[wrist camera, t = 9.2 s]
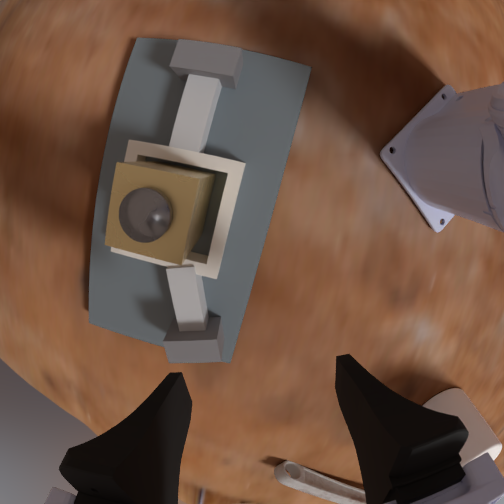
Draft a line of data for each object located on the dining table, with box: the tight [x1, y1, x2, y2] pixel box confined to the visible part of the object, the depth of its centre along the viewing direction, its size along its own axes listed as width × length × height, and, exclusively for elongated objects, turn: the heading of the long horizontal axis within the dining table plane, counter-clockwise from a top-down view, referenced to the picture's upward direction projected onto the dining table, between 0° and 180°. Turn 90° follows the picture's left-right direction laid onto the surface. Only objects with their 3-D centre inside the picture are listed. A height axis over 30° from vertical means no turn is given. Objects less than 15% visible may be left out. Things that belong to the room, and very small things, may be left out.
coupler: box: [105, 161, 216, 265], centre depth 15 cm, size 4×4×7 cm
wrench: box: [274, 460, 366, 504], centre depth 28 cm, size 8×2×30 cm
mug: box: [423, 388, 502, 467], centre depth 22 cm, size 8×10×12 cm
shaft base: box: [89, 38, 312, 363], centre depth 18 cm, size 22×12×4 cm, turn 166°
